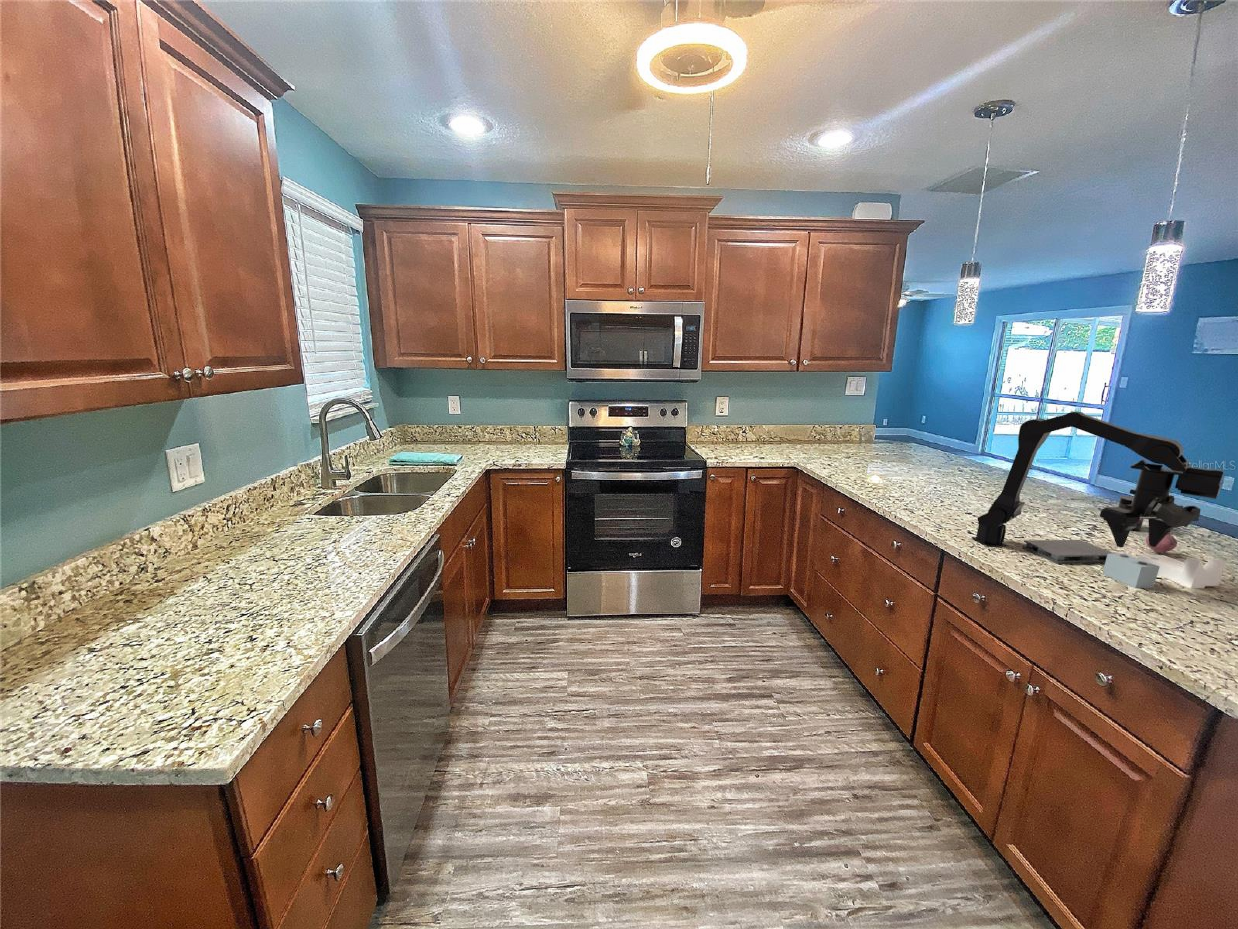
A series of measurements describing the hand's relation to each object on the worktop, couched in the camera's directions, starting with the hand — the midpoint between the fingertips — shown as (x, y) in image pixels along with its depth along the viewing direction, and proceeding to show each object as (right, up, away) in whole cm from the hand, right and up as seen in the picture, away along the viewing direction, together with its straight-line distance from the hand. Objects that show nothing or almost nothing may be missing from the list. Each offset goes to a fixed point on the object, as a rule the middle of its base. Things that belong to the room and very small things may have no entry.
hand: (1136, 546), depth 123 cm
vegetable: (+28, -6, +20) cm, 35 cm away
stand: (-1, -6, +18) cm, 19 cm away
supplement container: (+41, -1, +41) cm, 58 cm away
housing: (0, -9, +2) cm, 10 cm away
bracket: (+16, -9, +5) cm, 19 cm away
